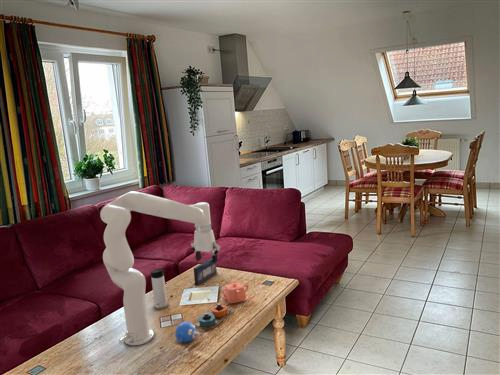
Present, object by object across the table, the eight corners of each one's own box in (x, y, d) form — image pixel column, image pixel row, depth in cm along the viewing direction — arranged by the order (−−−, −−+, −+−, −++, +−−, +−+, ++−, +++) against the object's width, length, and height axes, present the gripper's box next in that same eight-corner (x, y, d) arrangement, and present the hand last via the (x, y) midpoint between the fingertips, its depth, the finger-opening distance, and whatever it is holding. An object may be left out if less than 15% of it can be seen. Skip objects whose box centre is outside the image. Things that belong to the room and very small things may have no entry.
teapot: (231, 294, 223) (229, 277, 222) (251, 298, 217) (249, 280, 216) (219, 304, 213) (217, 286, 212) (239, 308, 208) (238, 289, 206)
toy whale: (196, 351, 173) (194, 332, 171) (170, 347, 177) (168, 329, 175) (208, 336, 184) (207, 318, 182) (184, 332, 188) (182, 315, 186)
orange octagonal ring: (221, 317, 197) (221, 313, 197) (209, 314, 201) (208, 310, 200) (230, 311, 203) (229, 306, 203) (218, 308, 207) (217, 303, 206)
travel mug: (159, 311, 210) (154, 273, 207) (152, 307, 215) (148, 270, 212) (170, 306, 215) (165, 269, 211) (163, 302, 219) (159, 266, 216)
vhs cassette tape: (198, 285, 238) (196, 268, 237) (194, 284, 240) (192, 267, 238) (217, 273, 253) (216, 258, 252) (213, 273, 255) (212, 257, 253)
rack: (209, 330, 188) (208, 319, 187) (195, 326, 192) (194, 315, 191) (231, 312, 203) (230, 302, 202) (218, 309, 207) (217, 299, 206)
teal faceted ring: (208, 327, 189) (208, 322, 188) (196, 324, 192) (195, 319, 192) (218, 320, 195) (217, 315, 194) (205, 317, 198) (205, 312, 198)
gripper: (184, 228, 206) (188, 261, 210) (213, 231, 198) (217, 266, 201) (194, 224, 213) (197, 256, 216) (222, 227, 204) (225, 260, 207)
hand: (206, 261), depth 209 cm, fingers open, 9 cm apart
